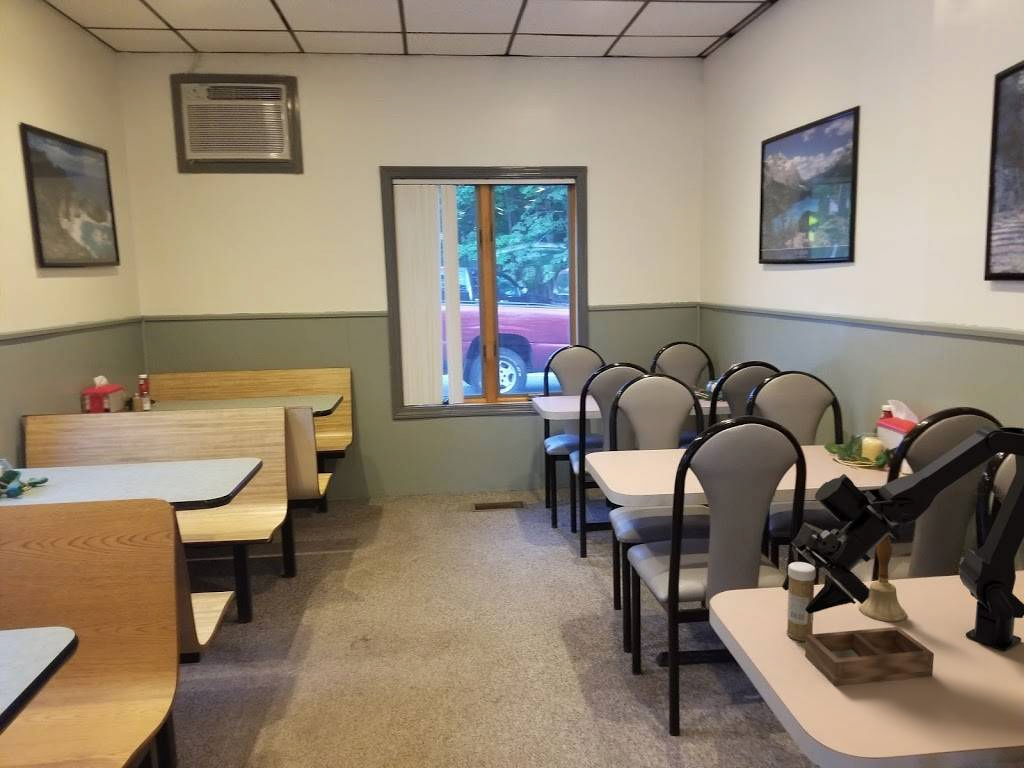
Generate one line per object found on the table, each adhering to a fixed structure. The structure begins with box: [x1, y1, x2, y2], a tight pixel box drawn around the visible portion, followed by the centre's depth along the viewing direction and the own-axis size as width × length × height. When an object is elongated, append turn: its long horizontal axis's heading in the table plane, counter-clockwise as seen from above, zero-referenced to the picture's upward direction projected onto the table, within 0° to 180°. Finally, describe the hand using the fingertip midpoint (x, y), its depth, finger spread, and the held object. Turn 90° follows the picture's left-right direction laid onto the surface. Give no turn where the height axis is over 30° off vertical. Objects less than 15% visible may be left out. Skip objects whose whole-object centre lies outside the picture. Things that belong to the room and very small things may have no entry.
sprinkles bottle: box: [786, 562, 817, 642], centre depth 129 cm, size 5×5×14 cm
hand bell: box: [858, 535, 907, 623], centre depth 137 cm, size 8×8×16 cm
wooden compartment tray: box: [804, 626, 935, 687], centre depth 120 cm, size 17×9×4 cm, turn 97°
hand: (795, 599), depth 129 cm, fingers open, 9 cm apart
